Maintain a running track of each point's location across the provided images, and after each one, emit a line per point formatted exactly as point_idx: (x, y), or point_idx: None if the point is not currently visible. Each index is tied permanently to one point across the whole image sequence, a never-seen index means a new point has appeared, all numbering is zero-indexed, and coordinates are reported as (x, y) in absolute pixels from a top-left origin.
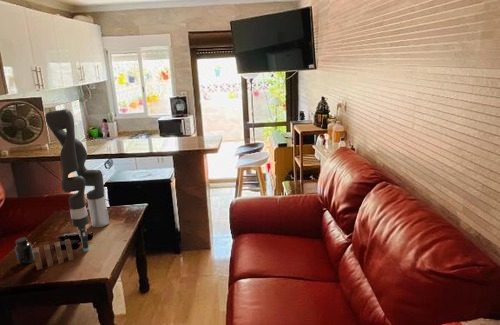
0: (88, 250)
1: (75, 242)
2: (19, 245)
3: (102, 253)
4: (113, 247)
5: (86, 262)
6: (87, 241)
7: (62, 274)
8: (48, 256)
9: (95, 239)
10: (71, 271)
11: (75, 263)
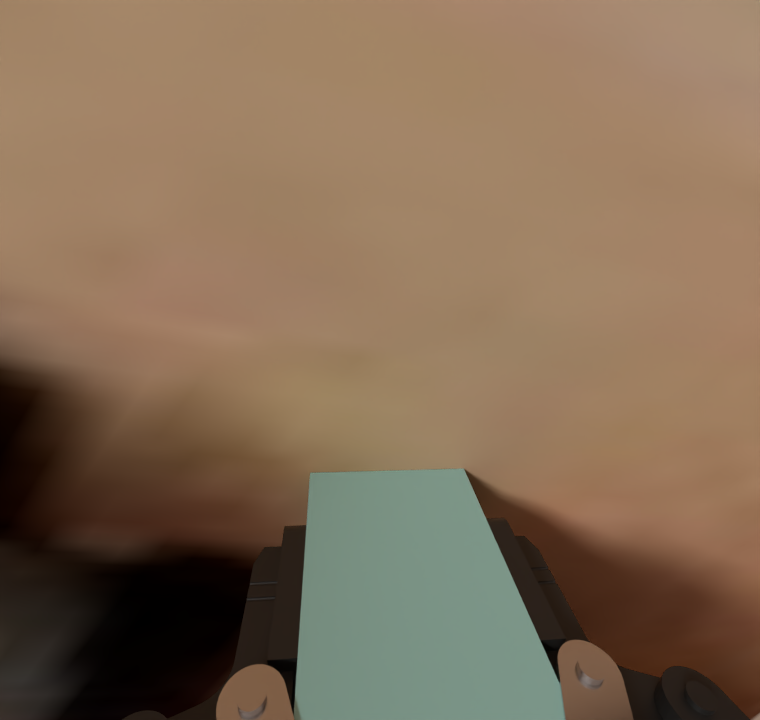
0: (462, 473)
1: (63, 586)
2: None
3: (720, 322)
4: (705, 80)
5: (737, 521)
6: (689, 675)
7: (729, 679)
8: None
9: (91, 318)
10: (756, 631)
11: (649, 603)
